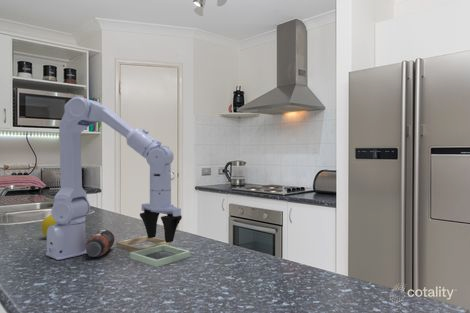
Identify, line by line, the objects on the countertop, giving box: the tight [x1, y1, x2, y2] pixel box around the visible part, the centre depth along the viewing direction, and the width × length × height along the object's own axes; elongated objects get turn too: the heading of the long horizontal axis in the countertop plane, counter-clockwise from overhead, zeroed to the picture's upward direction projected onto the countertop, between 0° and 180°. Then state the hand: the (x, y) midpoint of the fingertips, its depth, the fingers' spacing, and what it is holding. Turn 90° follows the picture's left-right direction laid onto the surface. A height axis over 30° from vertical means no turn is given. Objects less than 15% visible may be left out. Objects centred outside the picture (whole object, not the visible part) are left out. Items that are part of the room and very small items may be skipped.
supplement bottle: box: [85, 229, 115, 258], centre depth 98 cm, size 6×6×11 cm
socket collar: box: [116, 235, 172, 253], centre depth 107 cm, size 12×12×2 cm
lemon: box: [41, 214, 56, 238], centre depth 116 cm, size 6×6×8 cm
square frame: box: [129, 244, 191, 268], centre depth 95 cm, size 12×12×2 cm
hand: (160, 239), depth 95 cm, fingers open, 7 cm apart
